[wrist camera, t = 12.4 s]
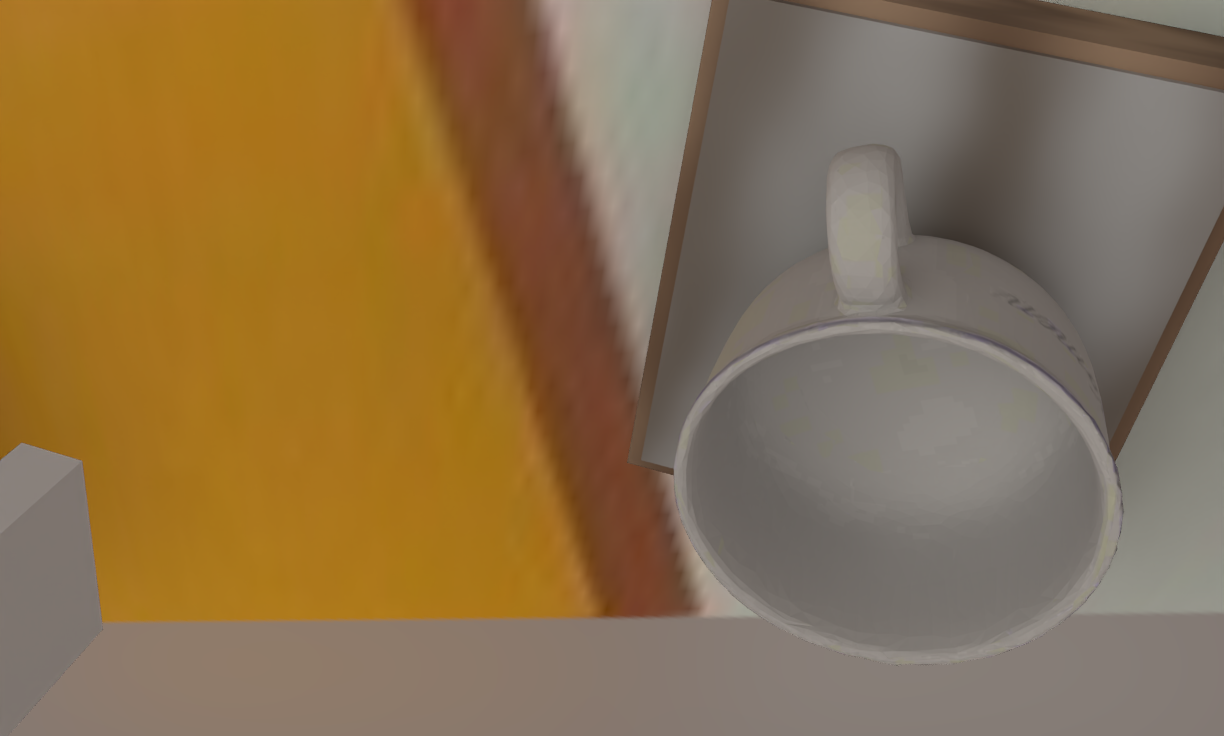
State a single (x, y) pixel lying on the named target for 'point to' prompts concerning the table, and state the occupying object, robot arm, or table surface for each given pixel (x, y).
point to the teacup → (901, 444)
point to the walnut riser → (948, 170)
